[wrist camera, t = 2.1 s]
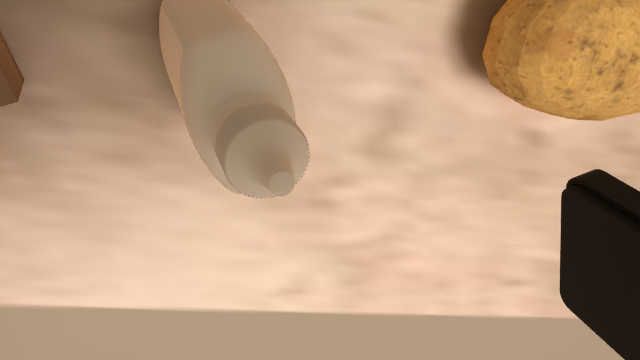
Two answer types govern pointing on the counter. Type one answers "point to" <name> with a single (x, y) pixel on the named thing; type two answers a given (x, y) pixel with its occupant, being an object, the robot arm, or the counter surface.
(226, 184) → the grey tapered bottle shape
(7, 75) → the walnut block
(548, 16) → the potato
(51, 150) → the counter surface
